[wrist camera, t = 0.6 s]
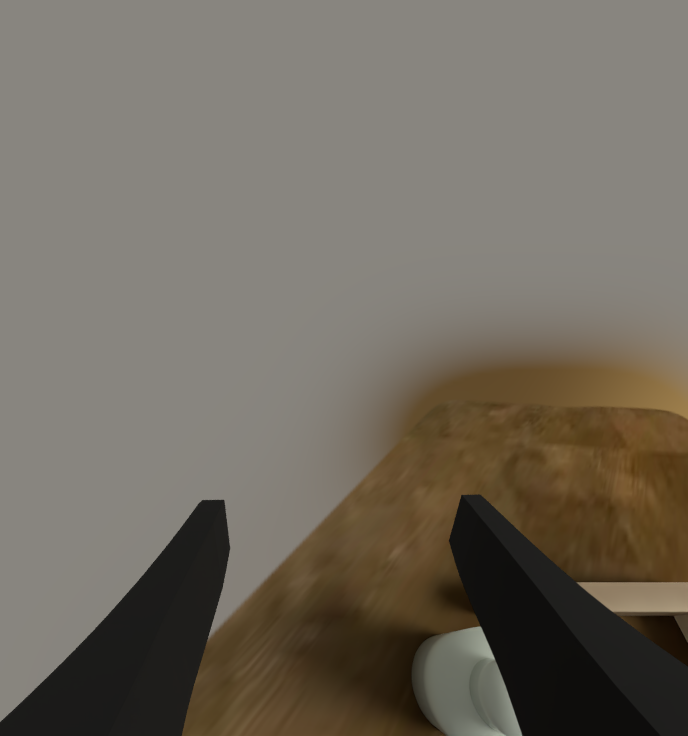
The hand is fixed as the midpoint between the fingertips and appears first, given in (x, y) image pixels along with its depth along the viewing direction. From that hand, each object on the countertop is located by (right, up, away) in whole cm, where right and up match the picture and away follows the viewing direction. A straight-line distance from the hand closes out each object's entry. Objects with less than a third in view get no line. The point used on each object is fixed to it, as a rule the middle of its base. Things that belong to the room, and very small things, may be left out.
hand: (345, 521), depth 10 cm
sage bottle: (+6, -15, +10) cm, 19 cm away
